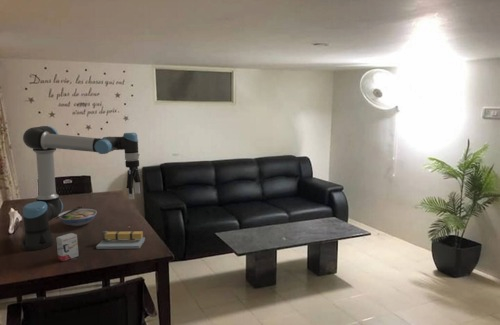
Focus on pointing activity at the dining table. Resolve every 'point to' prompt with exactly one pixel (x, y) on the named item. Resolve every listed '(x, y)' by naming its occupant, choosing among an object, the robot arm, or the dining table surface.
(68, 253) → the ink box
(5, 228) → the dining table surface
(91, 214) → the ramen bowl
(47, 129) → the robot arm
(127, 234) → the banded tan post
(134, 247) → the power panel
